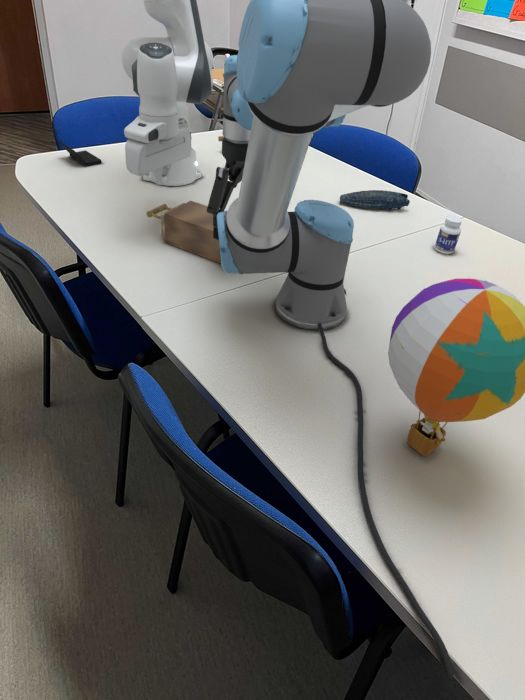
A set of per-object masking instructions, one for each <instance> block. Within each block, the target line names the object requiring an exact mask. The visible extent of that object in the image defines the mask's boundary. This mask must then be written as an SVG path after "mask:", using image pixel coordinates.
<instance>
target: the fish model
mask: <svg viewBox="0 0 525 700" xmlns="http://www.w3.org/2000/svg"><path fill="white" fill-rule="evenodd" d="M410 202H411V201H410V200H409V195H408V194H406V193H403V192H402V193H401V192H399V191H392V190H382V189H380V190H379V189H377V190H376V189H368V190H360V191H352V192H348V193H344V194H341V195H340V196H339V203H343V204H346V205H349V206H351V207H357V208H362V209H371V210H372V209H374V210H384V211H385V210H386V211H391V210H394V209H397V210H402V208H404V207H408V206H409V205H410Z"/></svg>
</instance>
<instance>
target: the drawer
mask: <svg viewBox="0 0 525 700" xmlns="http://www.w3.org/2000/svg"><path fill="white" fill-rule="evenodd" d="M185 203H186V202H182V203H180V204H178V205H176V206H174V207H169V206H168V204H167V203H163V204H161V205H158V206H156V207H154V208H152V209H150V210H148V211H146V216H147V217H148V218H156V219H158V220H160V231H161V232H160V233H161V237H162V238H164V239H166V238H165V216H164V213H166V212H168V211H170V210H172V209H175V208H177V207H179V206H181V205H183V204H185ZM159 214H160V215H159Z"/></svg>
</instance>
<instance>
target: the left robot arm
mask: <svg viewBox="0 0 525 700" xmlns="http://www.w3.org/2000/svg"><path fill="white" fill-rule="evenodd" d="M143 7H144V9H145V11H146V13H147V14H148V15H149V16H150V17H151V18H152V19H154V20H155V21H157V22H158V23H160V24H162V25H163V26H164V28H165V30H166V33H167V34H166V35H167V36H166V37H164V36H163V37H162V36H161V37H156V36H155V37H153V36H151V37H149V36H143V37H139V38H134V39H130V40H127V41H126V43H125V44H124V46H123V48H122V52H121V64H122V67H123V70H124V71H125V73H126V75H127V76H128V77H129V78H130V79H131V80H132V87H133V89H132V91H133V92H134V94H136V95H137V96H138V97H139V106H138V116H137V117H136V118H135V119H134V120H133V121H132V122H130V123H129V124H128V125H127V126H125V128H124V129H123V133H124V137H125V138H127V140H126V142H125V146H124V152H125V153H124V154H125V165H126V169H127V171H128V172H129V173H130V174H131V175H134V176H138V177H140V176H142V180H144V181H147V182H152V183H155V184H156V185H158V186H168V187H178V186H181V187H182V186H187V185H189V184H192V183H194V182H195V181H196V180H199V179H201V178H202V177H203V174H202V172H201V171H199V170H198V166H199V163H198V162H197V152H196V150H195V149H194V147H192V133H191V131H190V106H189V104H195V105H201V104H203V103H204V102H205V101H207V100H208V99H209V98H210V96H211V95H212V92H213V87H214V86H213V85H214V80H213V73H212V71H213V67H214V54H213V51H212V49H211V47H210V45H209V44H208V43H207V41H206V40H205V39H204V33H203V28H202V22H201V17H200V12H199V7H198V2H197V0H143Z"/></svg>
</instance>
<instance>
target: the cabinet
mask: <svg viewBox="0 0 525 700" xmlns="http://www.w3.org/2000/svg"><path fill="white" fill-rule="evenodd" d="M184 203H185V204H183V205H181V206H179V207H177V208H175V209H172V210H170V211H168V210H167V211H168V212H166V211H165V212H166V213H164V212H163V213H164V216H165V238H164V239H165V243H166V244H168V245H170V246H173V247H176V248H179V249H181V250H184V251H186V252H189V253H191V254H193V255H197V256H199V257H202V258H205V259H207V260H210V261H212V262H215V263H217V264H220V265H221V256H220V246H219V240H217V239H215V238H213V214H210V213H208V212H207V207H208V205H206V204H203V203H200V202H197V201H194V200H189V201H186V202H184Z"/></svg>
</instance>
